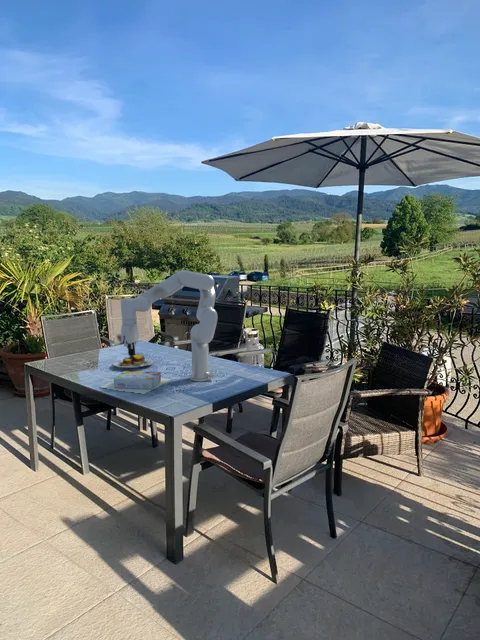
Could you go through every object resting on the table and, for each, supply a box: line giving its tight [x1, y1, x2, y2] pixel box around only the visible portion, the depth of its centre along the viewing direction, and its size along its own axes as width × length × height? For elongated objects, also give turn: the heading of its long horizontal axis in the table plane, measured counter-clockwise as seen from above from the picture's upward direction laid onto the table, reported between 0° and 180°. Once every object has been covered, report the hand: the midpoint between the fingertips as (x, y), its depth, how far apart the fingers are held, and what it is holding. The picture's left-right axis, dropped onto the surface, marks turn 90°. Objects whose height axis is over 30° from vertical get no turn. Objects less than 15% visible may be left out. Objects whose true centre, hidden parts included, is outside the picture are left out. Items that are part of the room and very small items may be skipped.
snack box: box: [113, 370, 162, 389], centre depth 231 cm, size 21×6×15 cm
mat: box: [100, 377, 172, 395], centre depth 234 cm, size 28×27×1 cm
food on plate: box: [111, 353, 155, 369], centre depth 271 cm, size 25×25×7 cm
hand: (131, 355), depth 228 cm, fingers closed
